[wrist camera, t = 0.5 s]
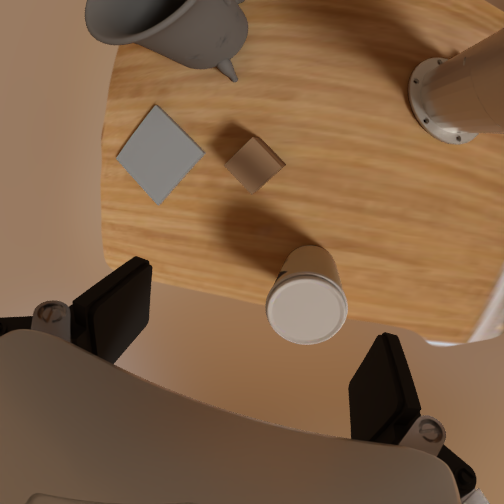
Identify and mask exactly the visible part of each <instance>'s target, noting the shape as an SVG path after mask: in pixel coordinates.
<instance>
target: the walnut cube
mask: <svg viewBox="0 0 504 504" xmlns="http://www.w3.org/2000/svg"><path fill="white" fill-rule="evenodd" d="M285 165H286V164H285V163H284V162H283V161H282V160H281V159H280V158H279V157H278V156H277V154H276V153H275V152H274V151H273V150H272V149H271V148H270V147H269V146H268V145H267V144H266V143H265V142H264V141H263V140H262V139H261V138H256V137H252V138H251V139H250V140H249V141H248V142H247V143H246V144H245V145H244V146H243V147H242V148H241V149H240V150H239V151H238V152H237V153H236V154H235V155H234V156H233V157H232V158H231V159H230V160H229V161H228V162H227V163H226V164H225V165H224V166H225V167H226V168H227V169H228V170H229V171H230V172H231V174H232V175H233V176H234V177H235V178H236V179H237V180H238V181H239V182H240V183H241V184H242V185H243V186H244V187H245V188H246V189H247V190H248V191H249V192H250V194H251V195H252V194H254V193H255V192H256V191H257V190H259V189H260V188H261V187H262V186H263V185H264V184H265V183H266V182H268V181H269V180H270V179H271V178H272V177H273V176H274V175H275V174H276V173H277V172H279V171H280V170H281V169H282V168H283V167H284V166H285Z"/></svg>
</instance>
